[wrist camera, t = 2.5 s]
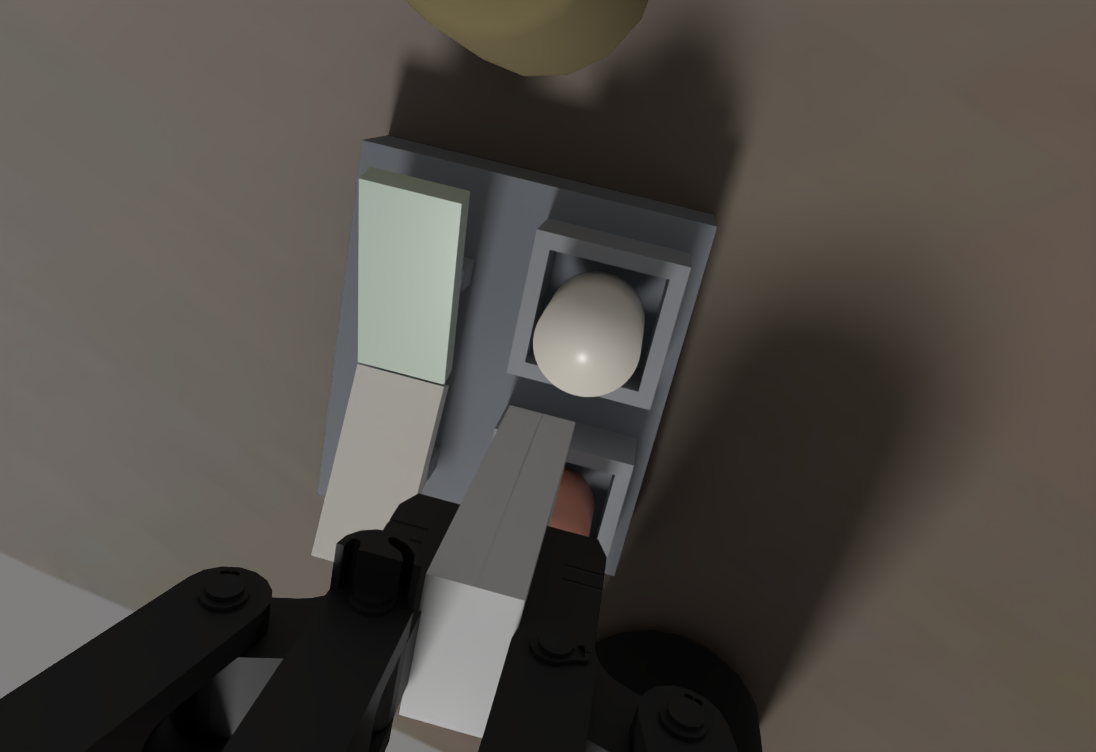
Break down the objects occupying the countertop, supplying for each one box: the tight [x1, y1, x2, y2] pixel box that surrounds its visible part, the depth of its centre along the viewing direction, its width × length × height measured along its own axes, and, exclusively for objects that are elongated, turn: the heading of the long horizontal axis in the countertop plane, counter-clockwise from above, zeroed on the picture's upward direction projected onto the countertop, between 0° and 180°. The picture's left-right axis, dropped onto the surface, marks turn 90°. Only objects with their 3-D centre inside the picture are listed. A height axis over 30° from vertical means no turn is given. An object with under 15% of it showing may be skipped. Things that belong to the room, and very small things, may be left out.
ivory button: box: [533, 271, 645, 397], centre depth 28 cm, size 4×4×3 cm
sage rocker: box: [358, 167, 470, 385], centre depth 30 cm, size 4×8×2 cm, turn 168°
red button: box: [550, 465, 595, 537], centre depth 31 cm, size 4×4×3 cm
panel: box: [318, 135, 717, 576], centre depth 34 cm, size 14×16×6 cm
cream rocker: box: [311, 364, 449, 562], centre depth 33 cm, size 4×8×2 cm, turn 168°
